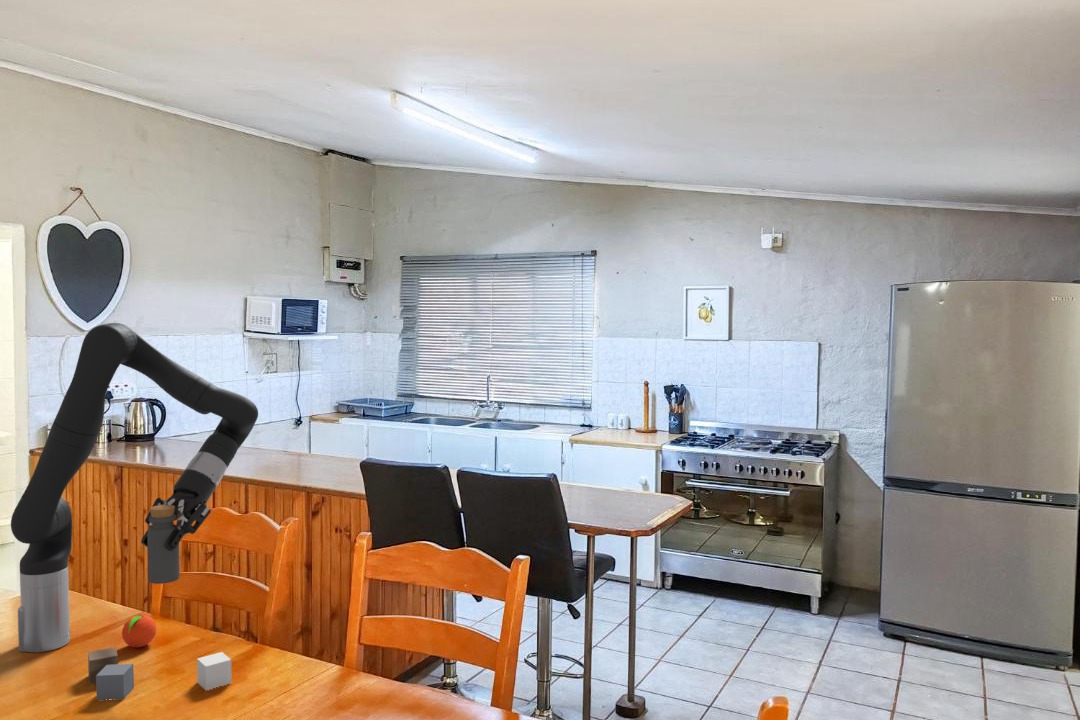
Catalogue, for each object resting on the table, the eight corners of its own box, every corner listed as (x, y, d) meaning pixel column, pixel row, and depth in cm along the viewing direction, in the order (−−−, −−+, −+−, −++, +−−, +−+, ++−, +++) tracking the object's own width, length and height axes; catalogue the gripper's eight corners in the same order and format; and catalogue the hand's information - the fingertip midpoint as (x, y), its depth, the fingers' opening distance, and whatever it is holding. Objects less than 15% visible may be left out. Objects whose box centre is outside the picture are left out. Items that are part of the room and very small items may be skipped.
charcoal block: (96, 701, 158) (96, 675, 157) (107, 689, 163) (106, 664, 162) (124, 699, 158) (123, 674, 158) (133, 688, 163) (133, 663, 163)
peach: (144, 654, 179) (144, 622, 179) (113, 654, 179) (112, 622, 179) (162, 640, 187) (161, 609, 187) (132, 640, 187) (131, 609, 187)
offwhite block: (206, 691, 162) (205, 666, 162) (197, 682, 166) (197, 658, 165) (231, 684, 165) (231, 659, 165) (222, 675, 169) (222, 651, 169)
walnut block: (90, 685, 164) (89, 660, 164) (88, 676, 169) (88, 652, 168) (118, 679, 167) (117, 655, 167) (115, 670, 171) (115, 647, 171)
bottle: (167, 585, 165) (166, 511, 164) (142, 583, 166) (140, 509, 165) (185, 576, 171) (184, 504, 170) (160, 574, 172) (159, 503, 171)
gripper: (165, 465, 177) (119, 533, 167) (216, 470, 171) (171, 541, 161) (185, 485, 182) (141, 552, 172) (235, 490, 176) (193, 560, 166)
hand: (156, 546), depth 167 cm, fingers closed on bottle, 5 cm apart
